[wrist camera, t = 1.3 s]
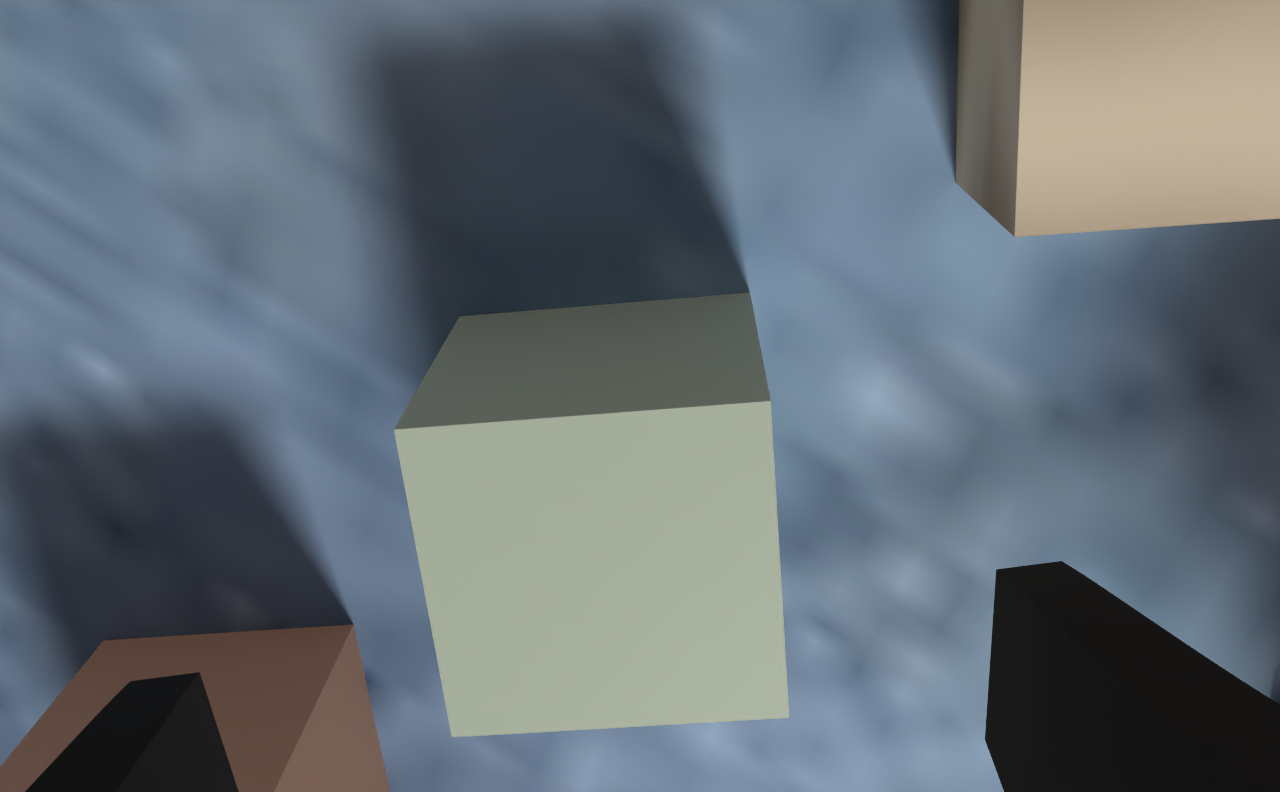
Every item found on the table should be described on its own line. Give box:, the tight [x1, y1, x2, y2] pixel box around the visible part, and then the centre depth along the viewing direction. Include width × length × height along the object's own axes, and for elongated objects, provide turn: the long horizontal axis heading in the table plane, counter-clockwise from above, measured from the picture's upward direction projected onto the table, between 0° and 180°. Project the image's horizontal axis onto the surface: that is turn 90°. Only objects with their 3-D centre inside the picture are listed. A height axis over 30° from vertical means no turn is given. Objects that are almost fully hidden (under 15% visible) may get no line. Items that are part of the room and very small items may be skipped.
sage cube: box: [394, 293, 789, 737], centre depth 19 cm, size 5×5×5 cm
